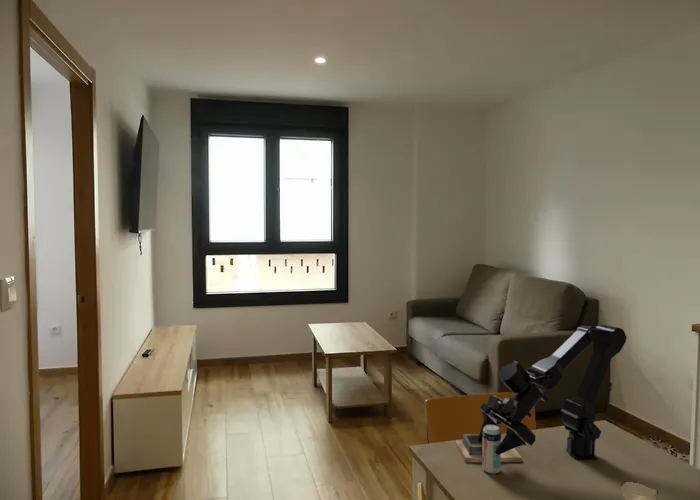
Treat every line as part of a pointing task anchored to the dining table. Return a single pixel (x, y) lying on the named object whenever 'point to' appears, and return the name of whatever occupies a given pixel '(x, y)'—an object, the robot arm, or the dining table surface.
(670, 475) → the dining table surface
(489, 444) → the beer can
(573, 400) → the robot arm
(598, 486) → the dining table surface
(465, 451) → the seat board
